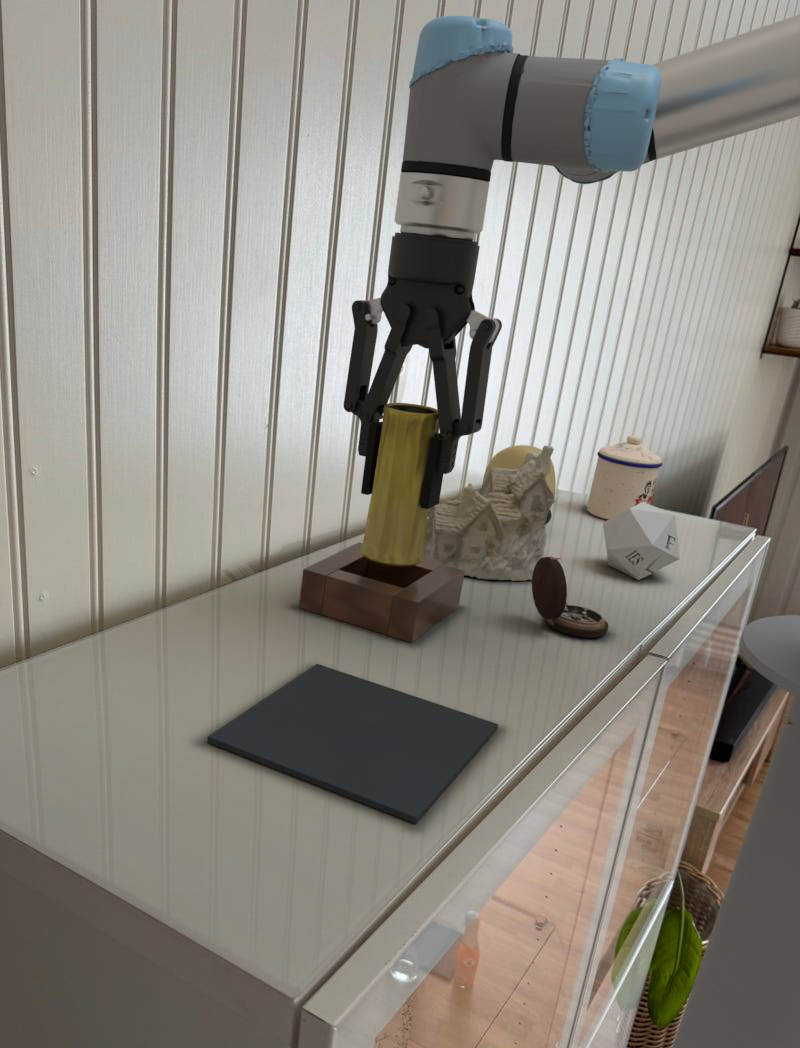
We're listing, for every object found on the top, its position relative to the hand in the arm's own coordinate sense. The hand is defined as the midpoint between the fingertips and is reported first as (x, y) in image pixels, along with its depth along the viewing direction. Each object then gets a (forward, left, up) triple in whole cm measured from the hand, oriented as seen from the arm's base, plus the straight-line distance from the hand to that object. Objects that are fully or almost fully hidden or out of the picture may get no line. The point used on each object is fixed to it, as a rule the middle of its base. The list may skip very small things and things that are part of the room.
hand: (399, 498), depth 91 cm
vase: (0, 0, -6) cm, 6 cm away
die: (-18, -34, -11) cm, 40 cm away
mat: (-10, +25, -11) cm, 29 cm away
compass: (-16, -10, -11) cm, 22 cm away
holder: (0, 0, -11) cm, 11 cm away
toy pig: (0, -43, -11) cm, 44 cm away
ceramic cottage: (-2, -24, -11) cm, 27 cm away
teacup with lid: (-10, -62, -11) cm, 64 cm away
